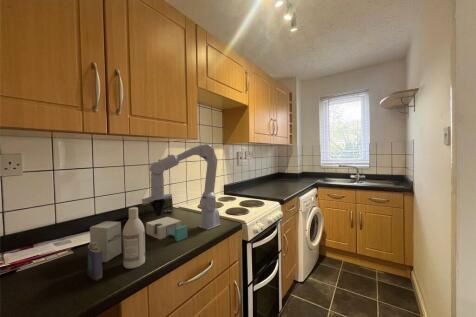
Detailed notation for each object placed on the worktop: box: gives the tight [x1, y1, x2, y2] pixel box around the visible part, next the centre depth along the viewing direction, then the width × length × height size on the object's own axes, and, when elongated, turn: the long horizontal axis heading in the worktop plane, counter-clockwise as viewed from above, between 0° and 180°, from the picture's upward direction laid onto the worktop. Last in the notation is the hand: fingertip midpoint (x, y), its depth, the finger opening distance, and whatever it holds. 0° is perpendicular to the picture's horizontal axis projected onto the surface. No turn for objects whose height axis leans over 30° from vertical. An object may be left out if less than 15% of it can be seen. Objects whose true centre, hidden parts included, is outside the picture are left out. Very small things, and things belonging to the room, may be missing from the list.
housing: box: [145, 216, 182, 240], centre depth 102 cm, size 12×12×5 cm
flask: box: [87, 242, 104, 281], centre depth 66 cm, size 9×3×11 cm, turn 49°
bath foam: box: [122, 206, 146, 270], centre depth 72 cm, size 7×7×20 cm
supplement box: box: [89, 220, 122, 263], centre depth 78 cm, size 7×7×13 cm
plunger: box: [155, 223, 161, 234], centre depth 97 cm, size 3×3×4 cm
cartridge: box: [166, 224, 189, 242], centre depth 98 cm, size 6×20×6 cm, turn 52°
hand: (158, 215), depth 97 cm, fingers closed
